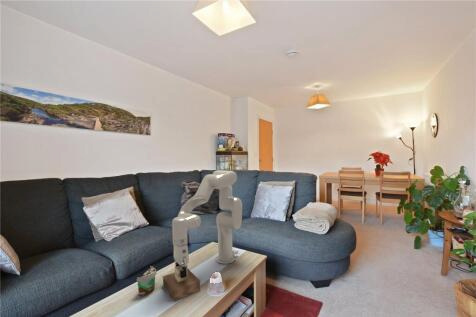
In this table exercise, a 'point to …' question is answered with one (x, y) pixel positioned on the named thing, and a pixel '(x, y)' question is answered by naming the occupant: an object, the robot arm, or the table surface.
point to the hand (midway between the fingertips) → (181, 274)
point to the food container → (147, 282)
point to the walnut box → (181, 285)
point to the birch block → (177, 274)
